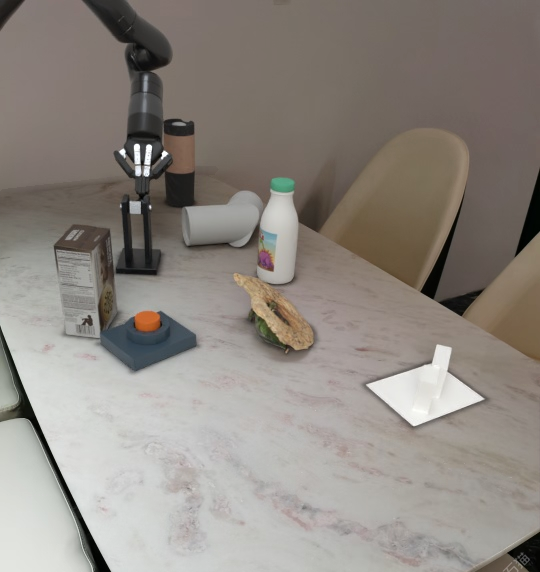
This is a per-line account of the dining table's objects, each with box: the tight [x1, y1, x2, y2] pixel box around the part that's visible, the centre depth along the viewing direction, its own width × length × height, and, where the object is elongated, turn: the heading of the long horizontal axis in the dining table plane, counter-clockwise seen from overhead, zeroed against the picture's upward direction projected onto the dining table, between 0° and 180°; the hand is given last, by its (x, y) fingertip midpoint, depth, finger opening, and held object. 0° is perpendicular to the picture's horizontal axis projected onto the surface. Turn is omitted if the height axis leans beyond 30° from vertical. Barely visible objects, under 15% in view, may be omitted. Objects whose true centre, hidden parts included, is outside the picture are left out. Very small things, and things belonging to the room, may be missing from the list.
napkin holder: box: [365, 344, 485, 427], centre depth 91 cm, size 15×11×6 cm
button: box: [134, 310, 160, 332], centre depth 96 cm, size 4×4×2 cm
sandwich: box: [233, 272, 315, 354], centre depth 104 cm, size 18×14×8 cm
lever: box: [129, 196, 152, 216], centre depth 122 cm, size 13×4×4 cm, turn 4°
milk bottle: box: [256, 176, 299, 285], centre depth 117 cm, size 8×8×20 cm
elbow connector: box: [181, 190, 265, 248], centre depth 135 cm, size 18×11×20 cm
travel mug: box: [163, 118, 196, 208], centre depth 150 cm, size 8×8×20 cm
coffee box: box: [53, 223, 118, 339], centre depth 98 cm, size 9×6×16 cm
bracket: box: [115, 193, 162, 276], centre depth 120 cm, size 10×8×14 cm
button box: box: [99, 310, 197, 372], centre depth 97 cm, size 12×10×4 cm
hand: (142, 195), depth 126 cm, fingers closed
